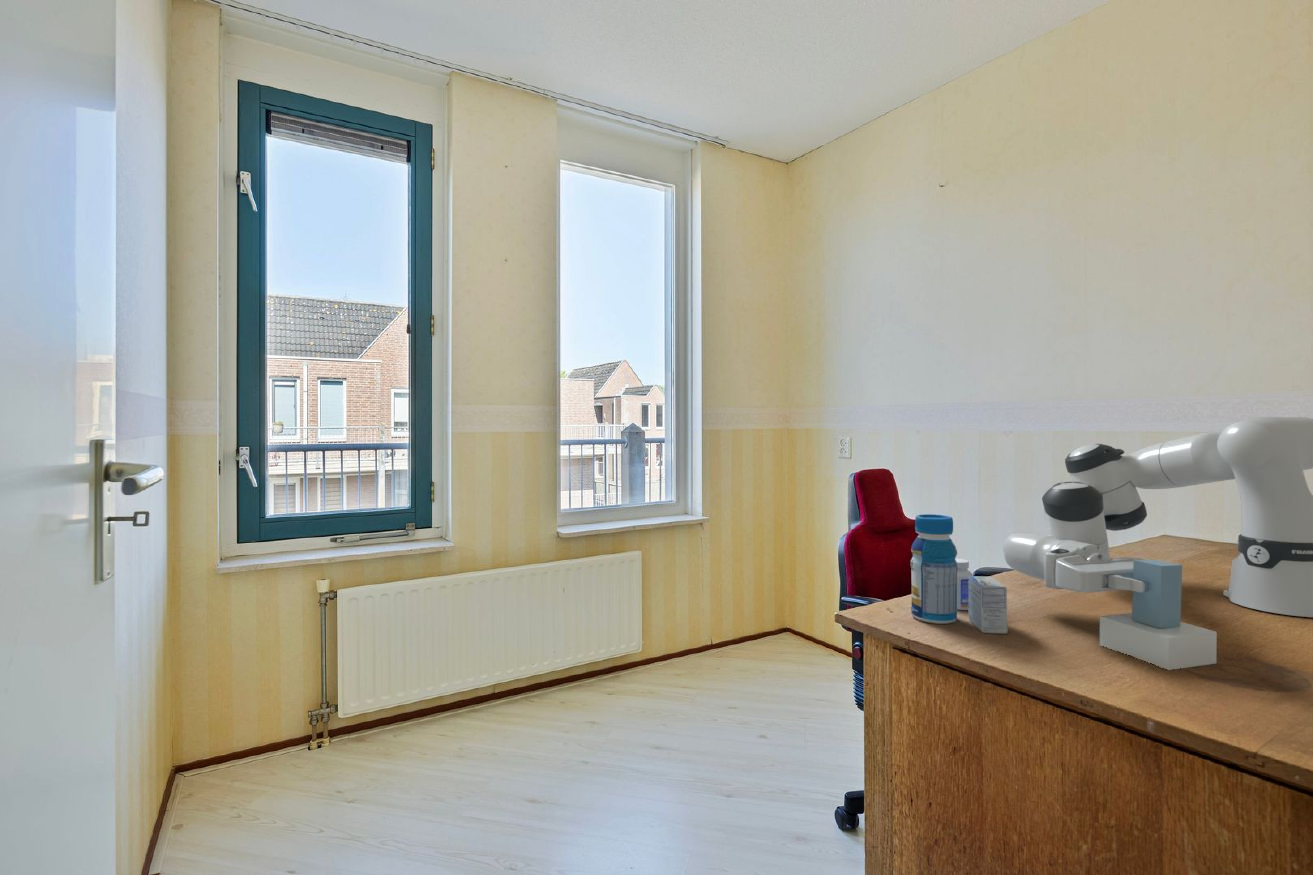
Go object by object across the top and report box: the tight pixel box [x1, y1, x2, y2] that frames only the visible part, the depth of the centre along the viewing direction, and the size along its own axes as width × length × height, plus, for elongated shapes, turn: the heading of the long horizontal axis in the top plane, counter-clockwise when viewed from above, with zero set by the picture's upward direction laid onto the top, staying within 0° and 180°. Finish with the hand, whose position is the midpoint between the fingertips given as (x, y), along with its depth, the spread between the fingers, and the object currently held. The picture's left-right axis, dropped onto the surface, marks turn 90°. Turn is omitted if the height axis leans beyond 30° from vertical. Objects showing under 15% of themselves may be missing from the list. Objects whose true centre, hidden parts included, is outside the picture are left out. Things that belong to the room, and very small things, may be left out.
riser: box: [1099, 612, 1218, 671], centre depth 99 cm, size 10×11×5 cm
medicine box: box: [967, 575, 1008, 635], centre depth 113 cm, size 8×4×9 cm, turn 168°
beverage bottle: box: [910, 513, 958, 625], centre depth 118 cm, size 8×8×20 cm
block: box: [1131, 558, 1183, 628], centre depth 99 cm, size 4×4×10 cm
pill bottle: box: [955, 557, 974, 611], centre depth 126 cm, size 5×5×10 cm
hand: (1161, 585), depth 98 cm, fingers open, 5 cm apart
